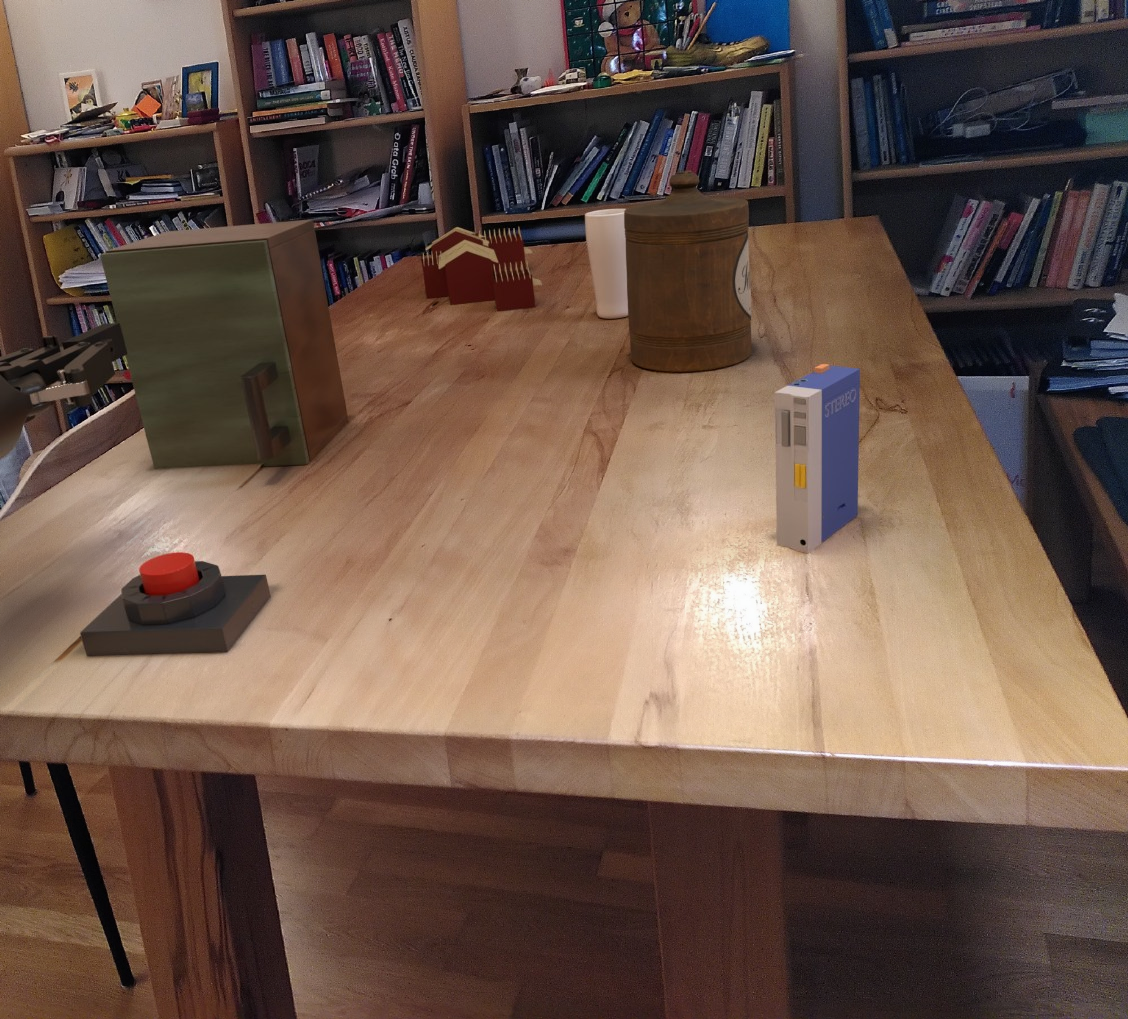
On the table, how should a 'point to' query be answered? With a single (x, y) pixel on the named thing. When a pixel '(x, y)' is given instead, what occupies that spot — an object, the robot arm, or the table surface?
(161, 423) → the cupboard door
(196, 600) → the button block
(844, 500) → the walkman
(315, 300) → the cupboard
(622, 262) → the drinking glass
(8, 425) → the robot arm
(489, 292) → the toy houses
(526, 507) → the table surface
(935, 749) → the table surface
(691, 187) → the wooden container
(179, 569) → the red button
